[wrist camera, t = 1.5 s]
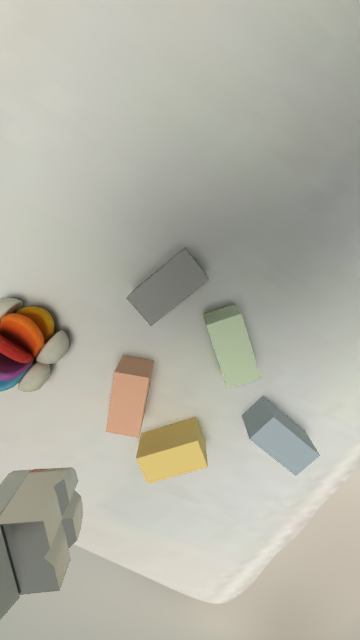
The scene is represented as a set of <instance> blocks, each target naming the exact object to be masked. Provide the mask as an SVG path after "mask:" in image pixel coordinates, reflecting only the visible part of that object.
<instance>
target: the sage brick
mask: <svg viewBox="0 0 360 640" xmlns="http://www.w3.org/2000/svg"><path fill="white" fill-rule="evenodd" d="M203 315H204V319H205V323H206V327H207V330H208V333H209V336H210V339H211V342H212V345H213V348H214V351H215V354H216V356H217V359H218V362H219V365H220V368H221V371H222V374H223V377H224V380H225V383H226V386H227V389H228V388H232V387H235V386H238V385H242V384H245V383H248V382H252V381H255V380H258V379H261V376H260V373H259V370H258V366H257V363H256V360H255V356H254V353H253V350H252V346H251V343H250V340H249V336H248V333H247V330H246V326H245V323H244V320H243V316H242V313H241V312H240V311H239V309H238V308H237V307H236V305H235V304H233V305H230V306H226V307H223V308H220V309H217V310H214V311H211V312H208V313H205V314H203Z"/></svg>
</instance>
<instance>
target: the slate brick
mask: <svg viewBox="0 0 360 640" xmlns="http://www.w3.org/2000/svg"><path fill="white" fill-rule="evenodd" d="M242 417H243V420H244V423H245V426H246V429H247V433H248V436H249V439H250V440H251V441H253V442H254V443H255V444H256V445H258V446H259V447H260V448H261V449H263V450H264V451H265V452H266V453H268V454H269V455H270V456H271V457H273V458H274V459H275V460H276V461H278V462H279V463H280V464H281V465H283V466H284V467H285V468H287V469H288V470H289V471H290V472H292V473H293V474H294V475H295V476H296V475H298V474H299V473H300V472H301V471H302V470H303V469H305V468H306V467H307V466H308V465H309V464H311V463H312V462H313V461H314V460H315V459H316V458H318V457H319V456H320V455H319V453H318V452H317V450H316V448H315V447H314V445H313V443H312V442H311V440H310V439H309V437H308V435H307V434H306V432H305V430H303V429H302V428H301V427H300V426H299V425H297V424H296V423H295V422H294V421H293V420H291V419H290V418H289V417H288V416H287V415H285V414H284V413H283V412H282V411H281V410H279V409H278V408H277V407H276V406H275V405H273V404H272V403H271V402H270V401H269V400H267V399H266V398H265V397H264V396H262V397H261V398H260V399H259V400H258V401H257V402H256V403H255V404H254V405H253V406H252V407H251V408H250V409H249V410H248V411H247V412H245V413H244V414H243V415H242Z"/></svg>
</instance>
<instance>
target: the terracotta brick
mask: <svg viewBox="0 0 360 640" xmlns="http://www.w3.org/2000/svg"><path fill="white" fill-rule="evenodd" d="M153 362H154V361H152V360H146V359H141V358H135V357H130V356H124V355H123V357H122V359H121V361H120V362H119V364H118V366H117V368H116V370H115V372H114V379H113V386H112V393H111V400H110V407H109V414H108V421H107V428H106V432H110V433H115V434H121V435H127V436H133V437H138V438H139V435H140V430H141V426H142V422H143V417H144V413H145V407H146V401H147V396H148V390H149V385H150V379H151V373H152V368H153Z"/></svg>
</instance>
